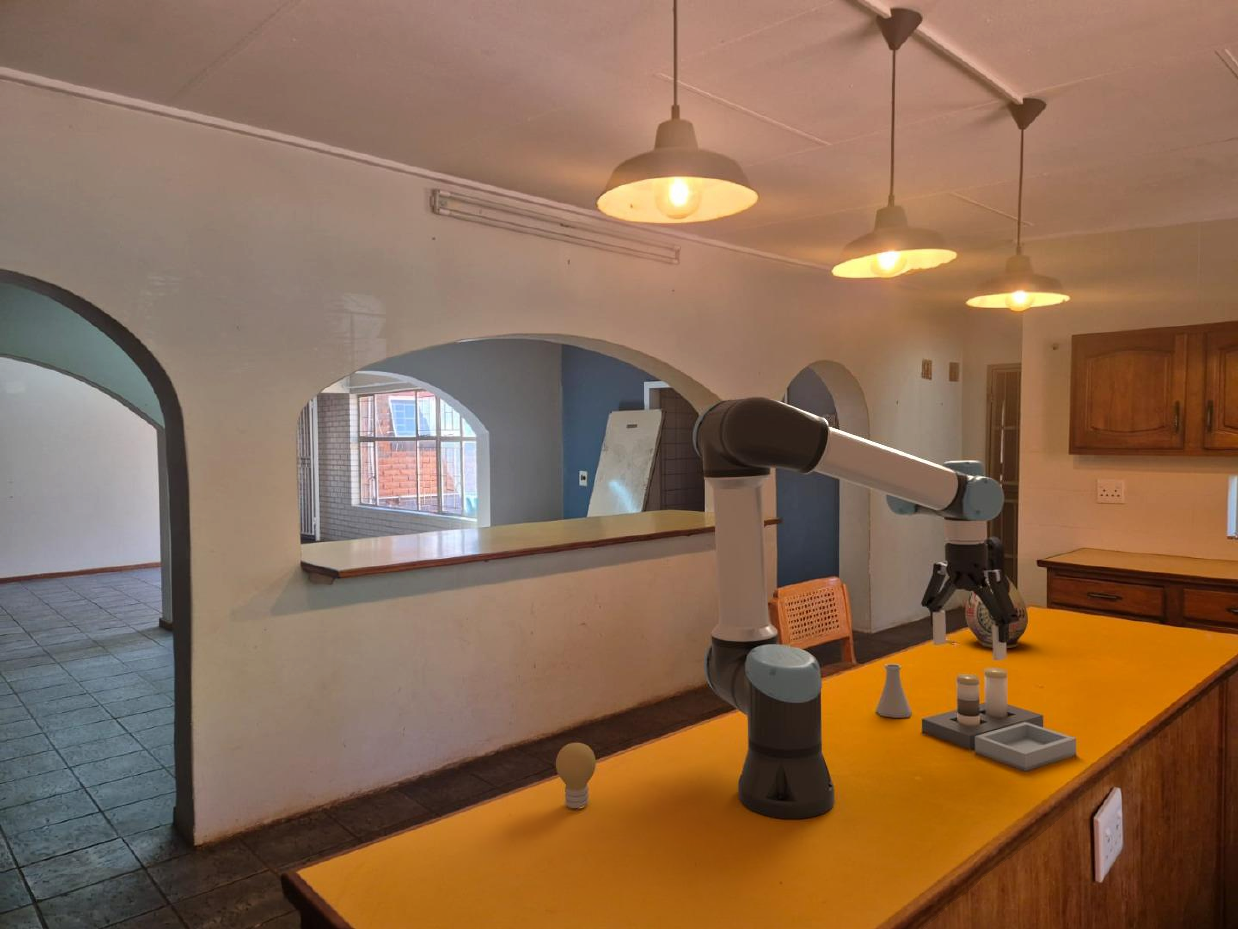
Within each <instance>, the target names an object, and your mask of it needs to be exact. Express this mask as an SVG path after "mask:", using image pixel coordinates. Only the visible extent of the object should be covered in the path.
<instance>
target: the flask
mask: <svg viewBox="0 0 1238 929" xmlns="http://www.w3.org/2000/svg"><path fill="white" fill-rule="evenodd" d="M901 667H902V666H901V665H900V664H897V663H885V665H884V668H885V669H886V674H885V675H886V676H885V682H884V686H883V689H882V692H881V695H880V698H879V701H878V703H877V707H876V709H875V712H876V713H877V714H879V715H880V716H881V717H887V718H895V719H898V718H910V717H911V716H912V714H913V712H912V709H911V706H910V704H909V701H908V698H907V696H906V693H905V690H904V688H903V685H902V681H901V676H900V674H901V673H900V670H901V669H902V668H901Z"/></svg>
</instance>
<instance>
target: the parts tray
mask: <svg viewBox="0 0 1238 929" xmlns="http://www.w3.org/2000/svg"><path fill="white" fill-rule="evenodd" d="M974 753H975V754H978V755H980V756H984V757H985V758H989V759H991V760H994V761H997V762H999V763H1000V764H1004V765H1006V766H1009V767H1012V768H1015V769H1018V770H1020V771H1022V772H1024V773H1025V772H1029V771H1031V770H1035V769H1038V768H1040V767H1044V766H1047V765H1050V764H1053V763H1056V762H1059V761H1062V760H1065V759H1068V758H1071V757H1075V756H1076V755H1077V737H1073V736H1070V735H1068V734H1065V733H1061V732H1058V731H1054V730H1051V729H1048V728H1046V727H1044V726H1043V727H1039V726H1036V725H1033V724H1030V723H1027V722H1023V723H1020V724H1016V725H1013V726H1009V727H1006V728H1002V729H999V730H995V731H992V732H988V733H984V734H981V735H977V736H975V748H974Z"/></svg>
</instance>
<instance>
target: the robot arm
mask: <svg viewBox="0 0 1238 929" xmlns="http://www.w3.org/2000/svg"><path fill="white" fill-rule="evenodd" d="M692 442H693V447H694V449H695V451H696V453H697V455H698V457H699V458H700V459H701V460H702V467H703V480H705V481H706V483H708V484H709V485H710V486H711V487H712V491H713V514H714V517H713V518H714V532H715V556H716V557H715V558H716V578H717V579H716V580H717V596H718V599H717V600H718V619H719V621H718V623H717V624H716V625H715V626H714V627H713V628H712V630H711V633H710V634H711V636H710V637H711V644H710V646H709V648H707V649H706V652H705V653H704V654H705V655H704V659H703V660H704V661H703V672H704V677H705V679H706V682H707V683H708V685H709V687H710V688H711V689H712V690H713V692H714V693H715V694H716V695H717V697H719V698H720V699H722V700H723V701H724V702H726V703H727V704H729V705H731V706H733V707H734V708H735V709H737V710H738V711H739V712H741V713H742V714H743V715H745V716H747V744H748V745H747V752H746V755H745V758H744V762H743V766H742V771H741V774H740V775H739V778H738V780H737V781H738V784H737V793H738V799H739V802H740V803H741V804H742V805H743V806H745V807H746V808H748V810H751V811H753V812H755V813H758V814H760V815H764V816H768V817H772V818H777V819H792V820H793V819H797V820H798V819H808V818H813V817H817V816H820V815H822V814H825V813H827V812H828V811H829V810H831V809H832V808H833V807H834V804H835V787H834V783H833V780H832V778H831V774H830V772H829V768H828V766H827V763H826V760H825V757H824V754H823V747H822V746H823V743H822V742H823V741H822V738H823V737H822V734H823V732H822V730H823V729H822V688H823V683H822V677H821V676H822V675H821V670H820V669H821V668H820V665H819V662H818V660H817V659H816V657H815V656H814V655H812V654H811V653H810V652H808V651H806V650H804V649H802V648H799V647H797V646H794V647H792V646H791V647H790V645H785V644H779V635H778V633H779V632H778V629H777V628H776V627H775V626H774V625H773V624H771V622H770V620H769V609H768V608H769V607H768V606H769V605H768V590H767V589H768V587H767V586H768V584H767V582H768V580H767V562H766V560H767V559H766V541H765V540H766V538H765V536H766V535H765V520H764V519H765V517H764V493H763V492H764V491H763V486H764V485H765V483H766V482H767V481H768V479H770V478H771V476H772V474H771V469H782V470H789V471H793V472H796V473H799V474H802V475H808V474H810V473H812V472H816V473H819V474H822V475H825V476H827V477H832V478H833V479H836V480H841V481H844V482H847V483H850V484H854V485H857V486H860V487H863V488H866V489H869V490H871V491H872V490H873V491H876V492H878V493H882V494H885V500H886V503H887V506H888V507H889V509H890V510H891V511H892V513H893V514H896V515H897V516H909V517H910V516H911V517H912V516H913V515H924V516H926V515H927V516H934V517H940V518H941V517H943V520H944V521H943V525H944V526H943V531H944V532H943V534H944V535H943V536H944V539H945V540H946V542H945V543H944V560H945V561H942V562H941V561H940V562H935V563H933V565H932V574H931V578H930V579H929V581H928V584H927V588H926V589H925V591H924V594H923V597H922V600H921V602H920V604H921V606H922V607H925V608H927V609H928V610H929V615H930V617H929V618H930V626H931V627H932V635H933V639H932V642H933V646H940V645H945V644H947V630H946V629H947V628H946V626H947V625H946V610H944V609H945V608H944V606H945V605H946V604H947V602H948V601H949V600H950V598H952V596H953V594H954V593H955V592H956V591H957V590H964V591H967V592H971V591H973V592H974V594H976V595H978V597H979V598H980V600H981V601H982V603H983V604H984V606H985V607H986V609H987V610H988V612H989V613H990V614H991V616H992V617H993V619H994V620H995V622H996V624H994V625H992V632H993V648H992V659H993V661H1000V660H1001V661H1002V660H1006V659H1007V648H1006V642H1009V625H1010V624H1011V623H1015V622H1018V621H1019V617H1018V614H1017V612H1016V610H1015V608H1014V605H1013V603H1012V601H1011V598H1010V596H1009V594H1008V592H1007V589H1006V587H1005V585H1004V582H1003V576H1002V571H1001V570H993V571H987V569H986V562H987V560H988V552H987V544H986V541H987V539H988V534H987V533H988V532H987V531H988V530H987V529H988V528H987V526H988V525H987V522H989V521H990V520H993V519H995V518H996V517H998V516H999V514H1000V513H1001V511H1002V509H1003V506H1004V502H1005V494H1004V490H1003V488H1002V486H1001V484H1000V483H999V482H998V481H997V480H996V479H994V478H991V477H988V476H986V470H985V468H986V467H985V465H984V463H983V462H981V461H980V460H949V461H945V462H943V464H942V465H940V464H937V463H935V462H932V461H929V460H925V459H923V458H920V457H917V456H915V455H911V454H908V453H905V452H903V451H900V450H898V449H894V448H892V447H888V446H885V445H882V444H879V443H877V442H874V441H871V440H868V439H865V438H863V437H860V436H857V435H853V434H852V433H848V432H845V431H842V430H839V429H836V428H833V427H831V426H830V424H829V423H828V420H826V418H824V417H823V416H818V415H816V414H814V413H810V412H808V411H805V410H802V409H800V408H799V407H798V408H797V407H796V406H792V405H790V404H787V403H784V402H781V401H778V400H776V399H773V398H772V399H771V398H768V397H762V396H751V397H746V398H737V399H727V400H721V401H719V402H717V403H714V404H712V405H710V406H708V407H707V408H706V409H705V410H703V412H702V413H701V414H700V415H699V416H698V418H697V419H696V422H695V424H694V426H693V430H692ZM946 562H947V563H946ZM947 575H948V578H947V579H946V576H947ZM986 578H987V579H986ZM945 579H946V581H945ZM986 580H987V581H989V585H990V586H989V585H988V583H987V582H986ZM944 581H945V583H944ZM943 583H944V584H943ZM980 587H982V588H980ZM991 590H992V592H993V593H992V592H991Z"/></svg>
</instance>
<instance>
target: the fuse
mask: <svg viewBox="0 0 1238 929" xmlns="http://www.w3.org/2000/svg"><path fill="white" fill-rule="evenodd" d="M983 670H984V703H985V715H988V716H991V717H994V718H997V719H1002V718H1005V717H1008V716H1007V704H1008V671H1007V669H1004V668H999V667H986V668H984V669H983Z"/></svg>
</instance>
